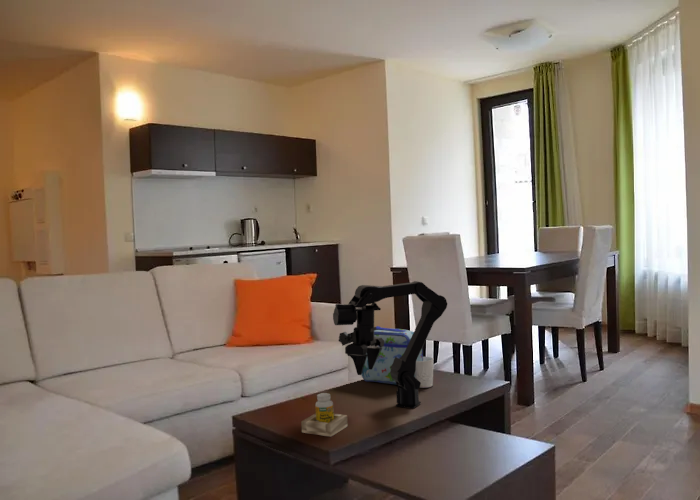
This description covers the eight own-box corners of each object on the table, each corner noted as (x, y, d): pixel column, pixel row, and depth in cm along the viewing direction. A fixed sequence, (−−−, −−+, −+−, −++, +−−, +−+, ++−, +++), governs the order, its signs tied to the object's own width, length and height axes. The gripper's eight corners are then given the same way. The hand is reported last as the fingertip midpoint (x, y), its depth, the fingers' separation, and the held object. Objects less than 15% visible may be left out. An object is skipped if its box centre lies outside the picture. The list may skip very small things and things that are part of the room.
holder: (347, 426, 184) (347, 415, 184) (330, 436, 175) (330, 425, 175) (319, 422, 189) (318, 411, 189) (301, 432, 180) (301, 421, 180)
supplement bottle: (332, 422, 185) (330, 391, 185) (336, 428, 180) (334, 395, 180) (314, 424, 184) (313, 393, 184) (318, 430, 179) (316, 397, 178)
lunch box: (355, 380, 238) (352, 327, 237) (371, 374, 246) (369, 323, 246) (410, 389, 221) (408, 332, 221) (426, 383, 230) (424, 328, 229)
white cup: (437, 383, 228) (436, 357, 227) (430, 389, 221) (429, 361, 220) (417, 382, 231) (416, 356, 231) (410, 387, 224) (408, 360, 224)
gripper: (354, 319, 209) (354, 364, 209) (330, 326, 192) (329, 375, 192) (384, 321, 204) (384, 367, 205) (362, 328, 187) (362, 379, 188)
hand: (365, 372), depth 197 cm, fingers open, 9 cm apart
